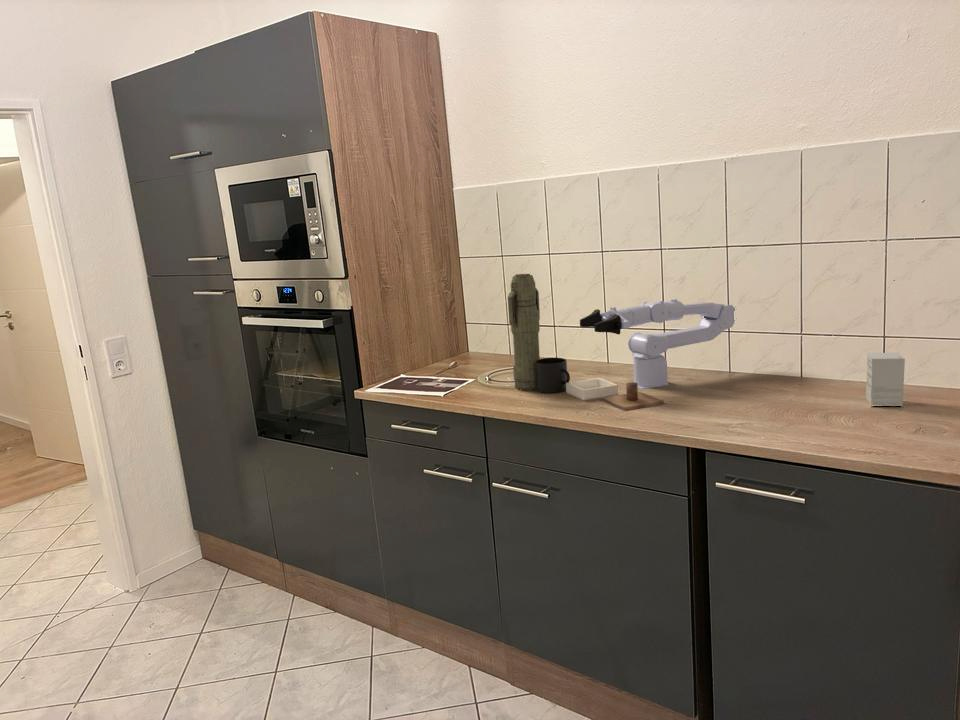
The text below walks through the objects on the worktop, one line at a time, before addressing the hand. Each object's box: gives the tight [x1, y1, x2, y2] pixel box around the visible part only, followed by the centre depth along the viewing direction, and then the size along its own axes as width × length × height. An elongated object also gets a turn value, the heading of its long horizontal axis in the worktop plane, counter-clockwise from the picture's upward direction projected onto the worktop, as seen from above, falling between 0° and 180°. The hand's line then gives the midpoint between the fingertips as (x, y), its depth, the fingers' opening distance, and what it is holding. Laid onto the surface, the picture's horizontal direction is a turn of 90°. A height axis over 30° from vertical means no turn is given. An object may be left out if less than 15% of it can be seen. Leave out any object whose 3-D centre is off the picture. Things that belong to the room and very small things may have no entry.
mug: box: [535, 357, 571, 394], centre depth 222 cm, size 9×12×9 cm
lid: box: [601, 381, 664, 411], centre depth 202 cm, size 12×12×5 cm
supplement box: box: [865, 352, 906, 407], centre depth 186 cm, size 7×7×13 cm
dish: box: [565, 377, 619, 402], centre depth 214 cm, size 11×11×4 cm
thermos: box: [507, 273, 541, 391], centre depth 226 cm, size 9×12×35 cm
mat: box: [599, 399, 666, 412], centre depth 203 cm, size 13×13×1 cm
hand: (587, 325), depth 209 cm, fingers open, 7 cm apart
